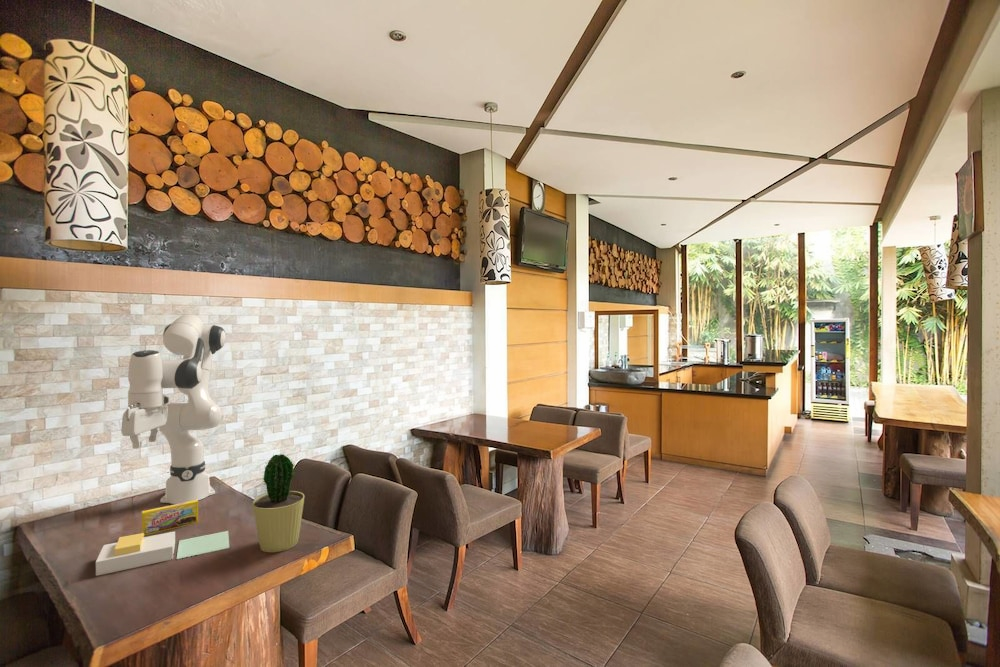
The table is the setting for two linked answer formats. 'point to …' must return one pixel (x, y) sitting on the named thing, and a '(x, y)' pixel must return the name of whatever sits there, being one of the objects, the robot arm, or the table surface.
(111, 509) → the table surface
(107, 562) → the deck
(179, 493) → the robot arm
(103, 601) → the table surface
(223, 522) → the table surface
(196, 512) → the candy box
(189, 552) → the mat
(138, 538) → the block
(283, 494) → the potted cactus
